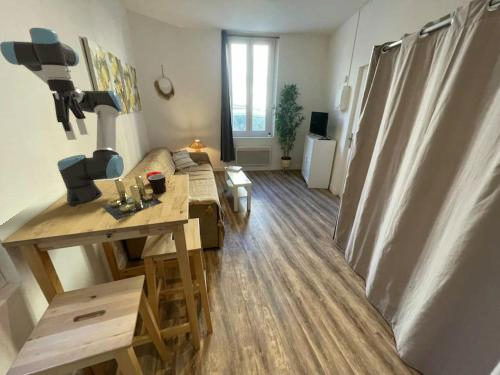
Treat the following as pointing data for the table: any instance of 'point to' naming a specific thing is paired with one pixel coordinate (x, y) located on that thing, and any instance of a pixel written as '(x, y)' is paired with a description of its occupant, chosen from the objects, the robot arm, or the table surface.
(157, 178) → the coffee mug
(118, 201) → the knob back
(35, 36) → the robot arm
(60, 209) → the table surface
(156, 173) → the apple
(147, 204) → the levelling plate
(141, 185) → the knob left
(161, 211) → the table surface
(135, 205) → the knob front
